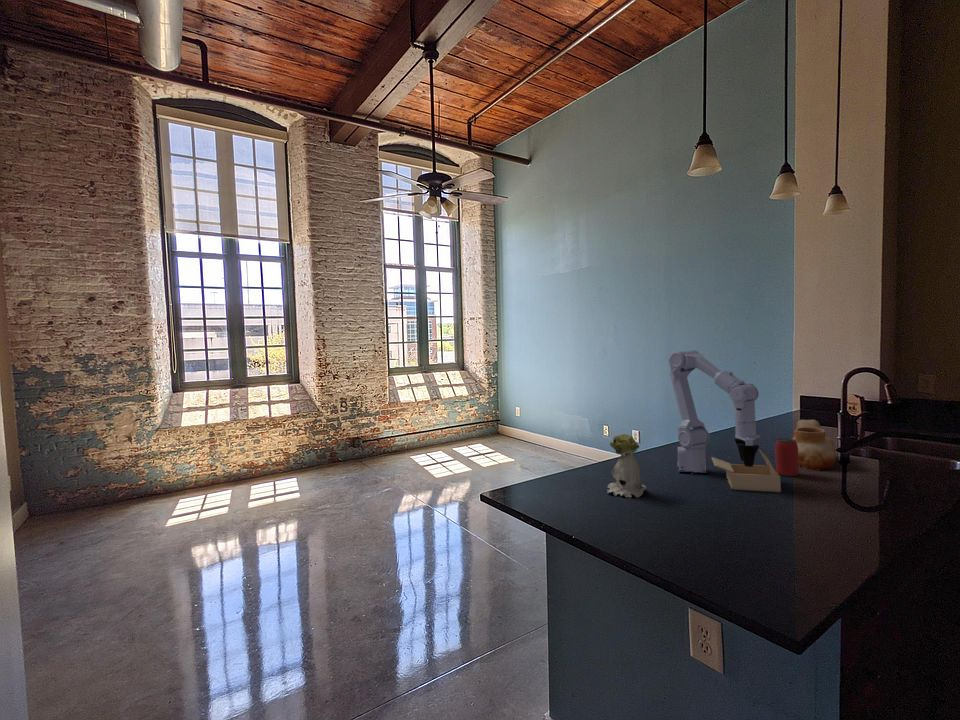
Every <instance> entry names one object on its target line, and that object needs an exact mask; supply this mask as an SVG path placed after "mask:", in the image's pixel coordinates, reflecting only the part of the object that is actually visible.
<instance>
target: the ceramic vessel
mask: <svg viewBox="0 0 960 720" xmlns="http://www.w3.org/2000/svg"><path fill="white" fill-rule="evenodd" d="M792 436H793V437H792V438H791V439H794V440H796V443H797V445H798V460H799V465H800V466H804V467H807V468H811V469H823V470H825V469H824V468H831V469H833V467H834V463H835V462H836V459H837V454H836V448H835V443H834V441H833V440H832V439H831V438H829V437H828V436H827V434H826V430H825V429H823V428H822V427H821V425H820V422H819V421H817V420H816V419H800V420H798V421H797V423H796V427H795V430H793V435H792ZM807 468H806V469H807ZM811 469H810V470H811Z"/></svg>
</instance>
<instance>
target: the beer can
mask: <svg viewBox="0 0 960 720" xmlns="http://www.w3.org/2000/svg"><path fill="white" fill-rule="evenodd" d="M774 452H775V453H774V454H775V471H776V472H777V473H778V474H780V476H782V475H783V477H797V476H799V474H800V468H799V460H798V445H797V443H796V440H794V439H792V438H786V437H785V438H784V437H781V438H776V442H775V445H774Z"/></svg>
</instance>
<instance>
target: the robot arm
mask: <svg viewBox="0 0 960 720" xmlns="http://www.w3.org/2000/svg"><path fill="white" fill-rule="evenodd" d="M668 364H669V368H670V371H669V372H670V373H669V374H670V375H669V376H670V380H671V384H672V388H673V391H674V396H675V399H676V404H677V407H678V411H679V415H680V419H681V423H680V424H679V425H678V427H677V440H678V443H679V444H680V446H677V462H676V463H677V464H676V465H677V468H678V467H679V469H678V471H679V470H685V471H693V472H703V471H706V468H707V463H706V459H707V458H706V447H707V444H708V443H709V441H710V440H711V439H710V433H709V431H708V430H707V429H706V426H705V423H704V422H702V421H701V419H699V418H698V413H697V411H696V407H695V402H694V399H693V395H692V392H691V391H692V390H691V388H690V383H689V379H688V377H689V376H690V374H691V373H692V372H693V371H694V370H696V369H697V370H700V371H701V372H702V373H705V374H706V375H707V376H709V377H711V378H712V379H714V384H715V385H716V386H718V387H719V388H720V389H721V390H723V391H724V392H726V393H727V394H729V397H730V400H731V401H732V402H733V403H732V404H733V407H734V423H735V424H734V426H735V429H734V430H735V434H734V437H735V438H734V441H735V444H736V446H737V448H738V453H739V456H740V460H741V461H742V462H743V464H744V465H745V466H746V467H753V465H755V464H754V463H755V456H756V454H757V451H759V448H760V445H759V444H754V441H755V440H757V439H761V435H760V434H757V429H756V401H757V399H758V398H759V395H760V393H759V390H758V388H757V386H755V385H754V384H753V383H746V382H745V380H743V379H740V378H738V377H737V376H735V375H734V372H732V371H731V370H729V371H728V370H723V371H722V370H720V369H719V368H718V367H717V366H715V365H714V364H713V363H712V362H711V361H709V359H706V358H705V357H704V354H702V353H700V351H697V350H695V349H693V350H681V351H679V350H675V351H673V352H672V353H671V355H670V356H669V358H668ZM681 467H683V468H681Z"/></svg>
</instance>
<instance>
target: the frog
mask: <svg viewBox="0 0 960 720" xmlns="http://www.w3.org/2000/svg"><path fill="white" fill-rule="evenodd" d="M609 445H610V446H611V447H610V448H613V450H615V453H616V454H617V455H619V456H620V457H619V458H618V460H617V462H616V464H615V465H614V467H613V469H612V470H611V474H612V477H613V478H614V479H615V482H610V483H609V484H607V488H608V489H606V491H607V494H609V493H612V494H613V495H614V497H616V496H617V495H620V496H621V497H623V496H624V497H625V498H626V499H628V498H627V497H629V499H630V498H632V497H633V496H634V497H635V498H640V497H641V496H642V495H643V494H644V491H645V490H646V489H647V487H646V485H644V484H642V481H641V469H640V466H639V463H638V461H637V459H636V458H635V456H634V455H633V454H634V453H636V452H637V451H638V449H639V448H640V445H639V443H638V442H637V441H636V440H635V439H634V437H633V436H631V435H629V434H627V433H625V434H618V435H616V436H614V437H613V440H612V441H610V442H609Z"/></svg>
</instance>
